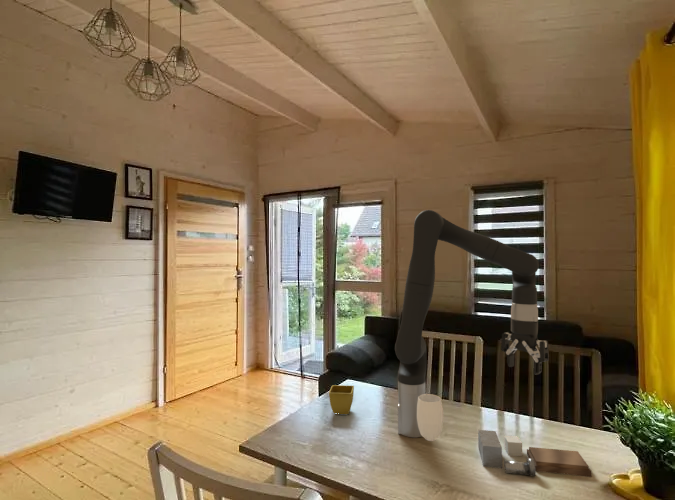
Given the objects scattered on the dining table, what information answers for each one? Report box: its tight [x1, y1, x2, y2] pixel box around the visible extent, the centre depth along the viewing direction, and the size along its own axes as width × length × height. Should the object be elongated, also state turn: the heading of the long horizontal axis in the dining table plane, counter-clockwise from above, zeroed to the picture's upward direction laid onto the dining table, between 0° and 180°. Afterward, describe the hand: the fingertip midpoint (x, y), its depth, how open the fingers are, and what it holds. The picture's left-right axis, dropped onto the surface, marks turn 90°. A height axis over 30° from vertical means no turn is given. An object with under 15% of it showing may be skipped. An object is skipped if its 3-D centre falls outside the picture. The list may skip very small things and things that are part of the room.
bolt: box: [503, 457, 537, 477], centre depth 107 cm, size 7×4×4 cm, turn 77°
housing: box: [477, 429, 503, 469], centre depth 115 cm, size 5×10×6 cm, turn 167°
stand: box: [526, 446, 593, 478], centre depth 110 cm, size 14×9×2 cm, turn 77°
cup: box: [417, 393, 444, 442], centre depth 108 cm, size 7×7×21 cm
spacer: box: [503, 435, 523, 457], centre depth 118 cm, size 4×4×4 cm
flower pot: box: [328, 384, 355, 415], centre depth 149 cm, size 9×9×9 cm
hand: (523, 370), depth 120 cm, fingers open, 8 cm apart
